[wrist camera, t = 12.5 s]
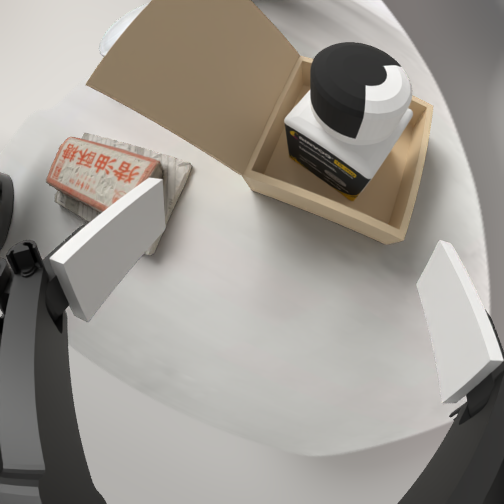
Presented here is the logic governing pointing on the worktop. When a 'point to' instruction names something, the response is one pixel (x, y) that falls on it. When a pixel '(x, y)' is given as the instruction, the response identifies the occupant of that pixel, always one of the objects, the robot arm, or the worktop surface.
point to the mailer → (250, 107)
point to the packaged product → (111, 175)
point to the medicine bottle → (349, 116)
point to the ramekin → (118, 30)
